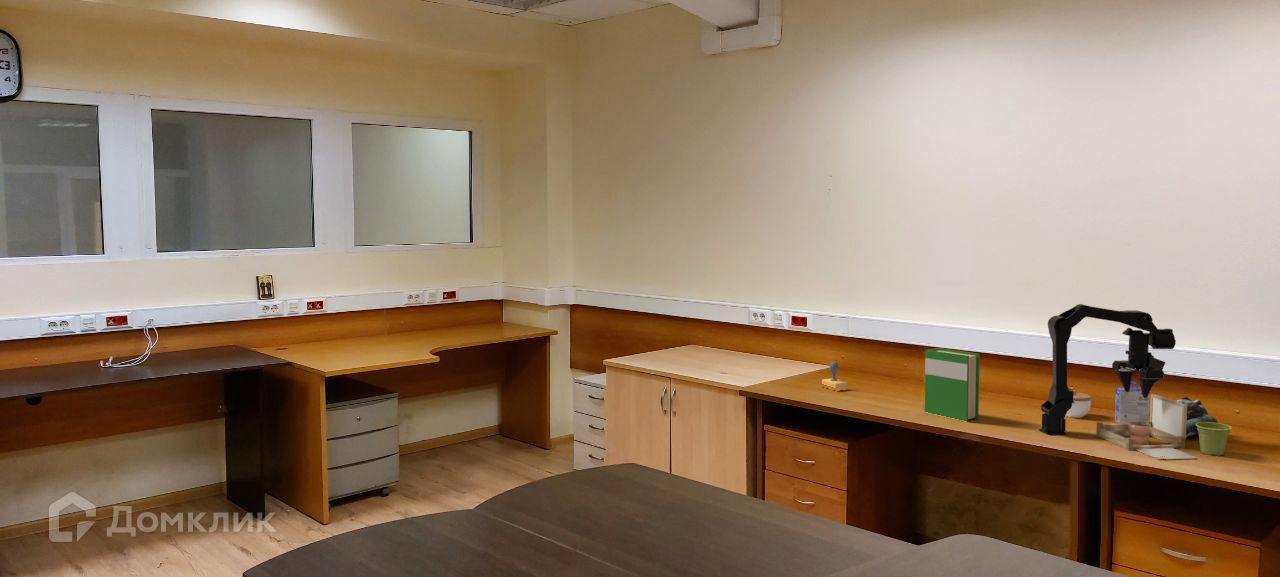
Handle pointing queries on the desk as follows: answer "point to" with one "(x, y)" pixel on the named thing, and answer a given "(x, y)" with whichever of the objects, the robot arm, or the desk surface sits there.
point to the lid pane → (1168, 415)
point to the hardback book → (952, 383)
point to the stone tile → (1166, 453)
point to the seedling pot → (1140, 432)
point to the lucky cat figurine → (1195, 415)
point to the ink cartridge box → (1131, 405)
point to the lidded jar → (1079, 405)
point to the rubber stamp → (834, 378)
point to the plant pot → (1213, 437)
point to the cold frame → (1118, 430)
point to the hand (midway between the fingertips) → (1136, 394)
